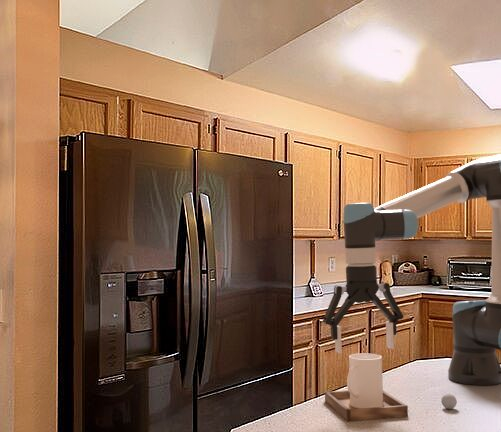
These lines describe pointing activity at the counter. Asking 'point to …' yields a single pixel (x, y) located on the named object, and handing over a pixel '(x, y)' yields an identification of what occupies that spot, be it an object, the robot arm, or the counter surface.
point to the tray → (349, 413)
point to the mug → (365, 380)
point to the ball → (449, 401)
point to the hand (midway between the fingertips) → (364, 350)
